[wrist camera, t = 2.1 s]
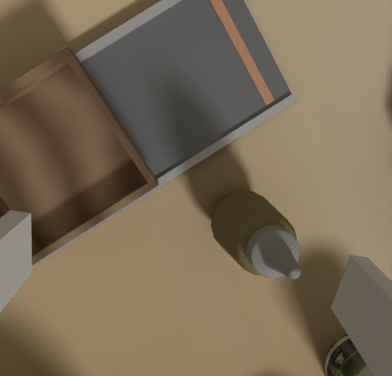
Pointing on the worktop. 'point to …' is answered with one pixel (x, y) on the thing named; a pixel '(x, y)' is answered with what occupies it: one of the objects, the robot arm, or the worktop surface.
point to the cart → (64, 154)
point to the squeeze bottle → (256, 235)
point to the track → (185, 82)
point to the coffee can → (345, 360)
